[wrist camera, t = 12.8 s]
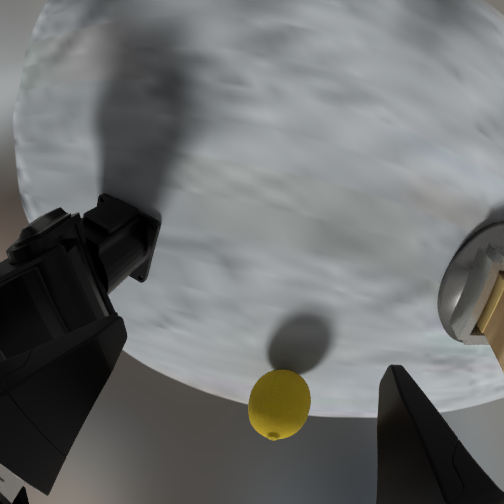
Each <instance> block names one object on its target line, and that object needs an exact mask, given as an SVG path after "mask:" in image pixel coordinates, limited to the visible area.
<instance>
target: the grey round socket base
mask: <svg viewBox="0 0 504 504" xmlns="http://www.w3.org/2000/svg"><path fill="white" fill-rule="evenodd" d="M499 270H502V271H504V221H502V222H497V223H493V224H491V225H488V226H486V227H484V228H483V229H481V230H480V231H478V232H477V233H475V234H474V235H473V236H472V237H471V238H470V239H468V240H467V241H466V242H465V244H464V245H463V246H462V247H461V248H460V249H459V251H458V252H457V253H456V255H455V256H454V258H453V259H452V261H451V262H450V264H449V266H448V268H447V270H446V272H445V274H444V277H443V279H442V282H441V286H440V289H439V294H438V313H439V318H440V320H441V323H442V325H443V327H444V329H445V331H446V332H447V333H448V335H449V336H450V337H452V338H453V339H454V340H457V341H459V342H463V343H464V345H490V344H489V342H488V340H487V338H486V337H485V335H484V333H481V331H480V329H479V327H478V326H477V325H478V322H477V320H478V318H479V316H480V314H481V312H482V310H483V308H484V306H485V303H486V301H487V299H488V297H489V295H490V292H491V290H492V288H493V285H494V283H495V280H496V278H497V275H498V273H499Z"/></svg>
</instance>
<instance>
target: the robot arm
mask: <svg viewBox="0 0 504 504" xmlns="http://www.w3.org/2000/svg"><path fill="white" fill-rule="evenodd" d="M103 198H104V200H103ZM152 224H154V225H155V228H154V227H153V226H152ZM159 229H160V223H159V222H158V221H157V220H156V219H154V218H152V217H150V216H148V215H146V214H144V213H142V212H140V211H139V210H138V209H137V208H135V207H133V206H131V205H129V204H127V203H126V202H124V201H122V200H120V199H118V198H113V197H111V196H110V195H108V194H105V193H103V194H101V195H100V196H99V197H98V203H97V207H95V208H93V209H91V210H89V211H87V212H86V213H84V215H83V218H81V217H80V214H79V213H75V214H72V215H71V213H70V214H68V213H66V212H65V211H64V210H63V209H62V208H61V207H60V208H57V209H55V210H53V211H51V212H48V213H46V214H45V215H43V216H41V217H39V218H37V219H36V220H34V221H33V222H31V223H30V224H29V225H27V226H26V227H25V228H23V229H22V231H21V234H20V237H19V238H18V239H17V240H16V241H15V242H14V243H13V244H12V245H11V246H10V247H9V248H8V249H7V251H6V253H7V255H8V258H7V259H5V260H4V261H2V262H0V504H29V502H28V498H27V493H26V489H25V487H24V486H23V485H24V483H25V482H26V483H28V484H29V485H31V486H32V487H34V488H35V489H37V490H38V491H40V492H42V493H43V494H45V495H47V496H48V495H49V493H50V491H51V489H52V486H53V484H54V482H55V480H56V478H57V476H58V474H59V471H60V469H61V467H62V465H63V463H64V461H65V459H66V456H67V455H68V453H69V451H70V449H71V447H72V445H73V443H74V441H75V439H76V437H77V435H78V433H79V431H80V429H81V427H82V425H83V424H84V422H85V420H86V418H87V416H88V414H89V412H90V410H91V409H92V407H93V405H94V403H95V401H96V400H97V398H98V396H99V394H100V392H101V391H102V389H103V387H104V385H105V384H106V382H107V380H108V378H109V376H110V375H111V372H112V371H113V369H114V366H115V364H116V362H117V360H118V357H119V355H120V353H121V351H122V349H123V346H124V344H125V342H126V340H127V331H126V328H125V324H124V321H123V318H122V317H121V316H118V314H117V313H116V312H115V310H114V308H113V306H112V303H111V301H110V299H109V297H108V295H109V294H110V293H111V292H112V291H113V290H114V289H115V288H116V287H117V286H118V285H119V284H120V283H121V282H122V281H123V280H124V279H126V278H127V277H128V276H130V277H132V278H134V279H135V280H137V281H139V282H144V281H145V280H146V279H147V276H148V272H149V267H150V263H151V259H152V255H153V251H154V248H155V244H156V240H157V236H158V233H159ZM141 276H142V277H141ZM377 451H378V452H377V454H378V469H377V470H378V471H377V500H376V501H377V502H376V504H504V492H503V491H502V490H501V489H499V487H498V486H497V485H496V484H495V483H494V482H493V481H492V480H491V478H490V477H489V476H488V475H487V474H486V473H485V472H484V470H483V469H482V468H481V467H480V466H479V465H478V464H477V462H476V461H475V460H474V459H473V458H472V456H471V455H470V454H469V452H468V451H467V450H466V448H465V447H464V446H463V444H462V443H461V442H460V440H458V438H457V436H456V435H455V433H454V432H453V431H452V429H451V428H450V427H449V425H448V424H447V423H446V421H445V420H444V419H443V417H442V416H441V415H440V413H439V412H438V411H437V409H436V408H435V407H434V405H433V404H432V403H431V401H430V400H429V399H428V398H427V396H426V395H425V394H424V392H423V391H422V390H421V389H420V387H419V386H418V385H417V384H416V382H415V381H414V380H413V378H412V377H411V376H410V375H409V373H408V372H407V371H406V370H405V368H404V367H403V366H401V365H390V366H389V367H388V368H387V370H386V372H385V374H384V376H383V378H382V379H381V382H380V386H379V404H378V419H377Z"/></svg>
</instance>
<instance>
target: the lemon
mask: <svg viewBox="0 0 504 504" xmlns="http://www.w3.org/2000/svg"><path fill="white" fill-rule="evenodd" d="M310 404H311V397H310V391H309V387H308V385H307V384H306V382H305V380H304V379H303V378H302V377H301V376H300V375H299V374H297V373H295V372H293V371H290V370H285V369H279V370H273V371H271V372H268V373H266V374H265V375H263V376H262V377H261V378H260V379H259V380H258V381H257V383H256V384H255V385H254V387H253V389H252V391H251V394H250V399H249V404H248V413H249V418H250V422H251V424H252V426H253V427H254V428H255V429H256V431H257V432H259V433H260V434H261V435H263V436H265V437H267V438H268V439H270V440H277V439H283V438H286V437H289V436H291V435H293V434H294V433H296V432H297V431H298V430H299V429H300V428H301V427H302V426H303V424H304V423H305V421H306V419H307V416H308V413H309V409H310Z"/></svg>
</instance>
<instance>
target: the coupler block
mask: <svg viewBox="0 0 504 504" xmlns="http://www.w3.org/2000/svg"><path fill="white" fill-rule="evenodd" d="M477 322H478V325H477V326H478V327H479V329H480V331H481V333H484V335H485V337H486V338H487V340H488V342H489V344H490V346H491V348H492V350H493V352H494V354H495V356H496V358H497V360H498V362H499V364H500V366H501V368H502V370H503V372H504V271H502V270H499V273H498V275H497V278H496V280H495V283H494V285H493V288H492V290H491V292H490V295H489V297H488V299H487V301H486V303H485V306H484V308H483V310H482V312H481V314H480V316H479V318H478V320H477Z"/></svg>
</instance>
